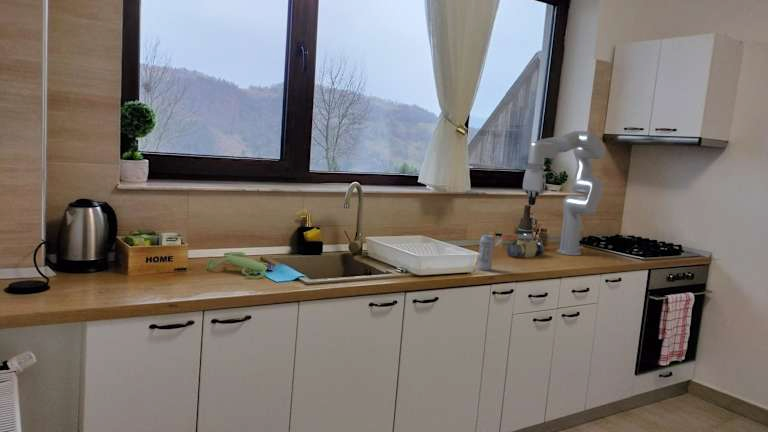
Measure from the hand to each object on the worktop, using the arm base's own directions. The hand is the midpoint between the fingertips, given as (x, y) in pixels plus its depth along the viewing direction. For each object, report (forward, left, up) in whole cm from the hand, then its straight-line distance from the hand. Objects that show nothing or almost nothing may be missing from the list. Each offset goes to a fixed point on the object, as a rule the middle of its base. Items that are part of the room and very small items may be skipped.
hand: (531, 204), depth 292 cm
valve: (-5, -5, -27) cm, 28 cm away
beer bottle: (-20, -20, -27) cm, 39 cm away
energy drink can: (+40, +12, -27) cm, 50 cm away
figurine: (+141, -16, -28) cm, 145 cm away
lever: (+2, -6, -18) cm, 19 cm away
